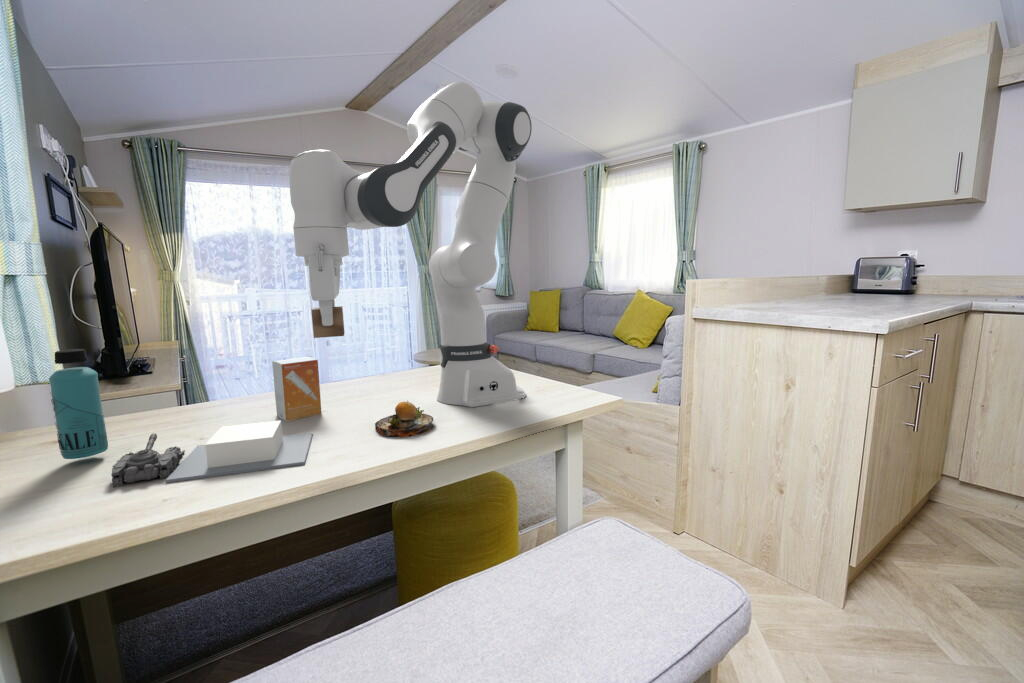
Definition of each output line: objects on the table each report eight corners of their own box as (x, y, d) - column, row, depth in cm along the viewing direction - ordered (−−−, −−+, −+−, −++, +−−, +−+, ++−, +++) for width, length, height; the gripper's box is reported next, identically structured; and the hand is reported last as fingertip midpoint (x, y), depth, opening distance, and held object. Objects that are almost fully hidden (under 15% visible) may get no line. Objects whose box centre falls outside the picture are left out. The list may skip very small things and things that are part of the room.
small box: (286, 422, 103) (280, 364, 102) (276, 416, 108) (271, 360, 106) (322, 414, 109) (318, 358, 107) (312, 409, 114) (307, 355, 112)
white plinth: (283, 440, 90) (281, 420, 90) (274, 459, 81) (272, 437, 80) (223, 447, 87) (221, 426, 87) (207, 467, 78) (205, 444, 77)
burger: (432, 418, 105) (431, 385, 104) (436, 435, 94) (434, 399, 93) (377, 423, 103) (375, 389, 102) (373, 441, 91) (371, 403, 90)
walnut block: (344, 332, 89) (342, 306, 88) (343, 336, 84) (341, 308, 84) (316, 334, 87) (313, 307, 87) (313, 337, 83) (311, 309, 82)
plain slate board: (312, 434, 95) (312, 432, 95) (304, 464, 80) (304, 461, 80) (197, 448, 89) (197, 445, 88) (165, 482, 73) (165, 479, 73)
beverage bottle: (102, 451, 88) (86, 345, 85) (117, 457, 84) (101, 347, 82) (55, 463, 82) (36, 350, 79) (70, 471, 79) (51, 353, 76)
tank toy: (124, 466, 82) (120, 437, 81) (189, 455, 86) (186, 428, 85) (102, 494, 71) (97, 461, 71) (177, 480, 75) (173, 449, 75)
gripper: (339, 242, 75) (346, 328, 77) (342, 249, 94) (348, 317, 96) (296, 242, 73) (304, 331, 75) (308, 249, 92) (314, 319, 94)
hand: (329, 323), depth 86 cm, fingers closed on walnut block, 5 cm apart
